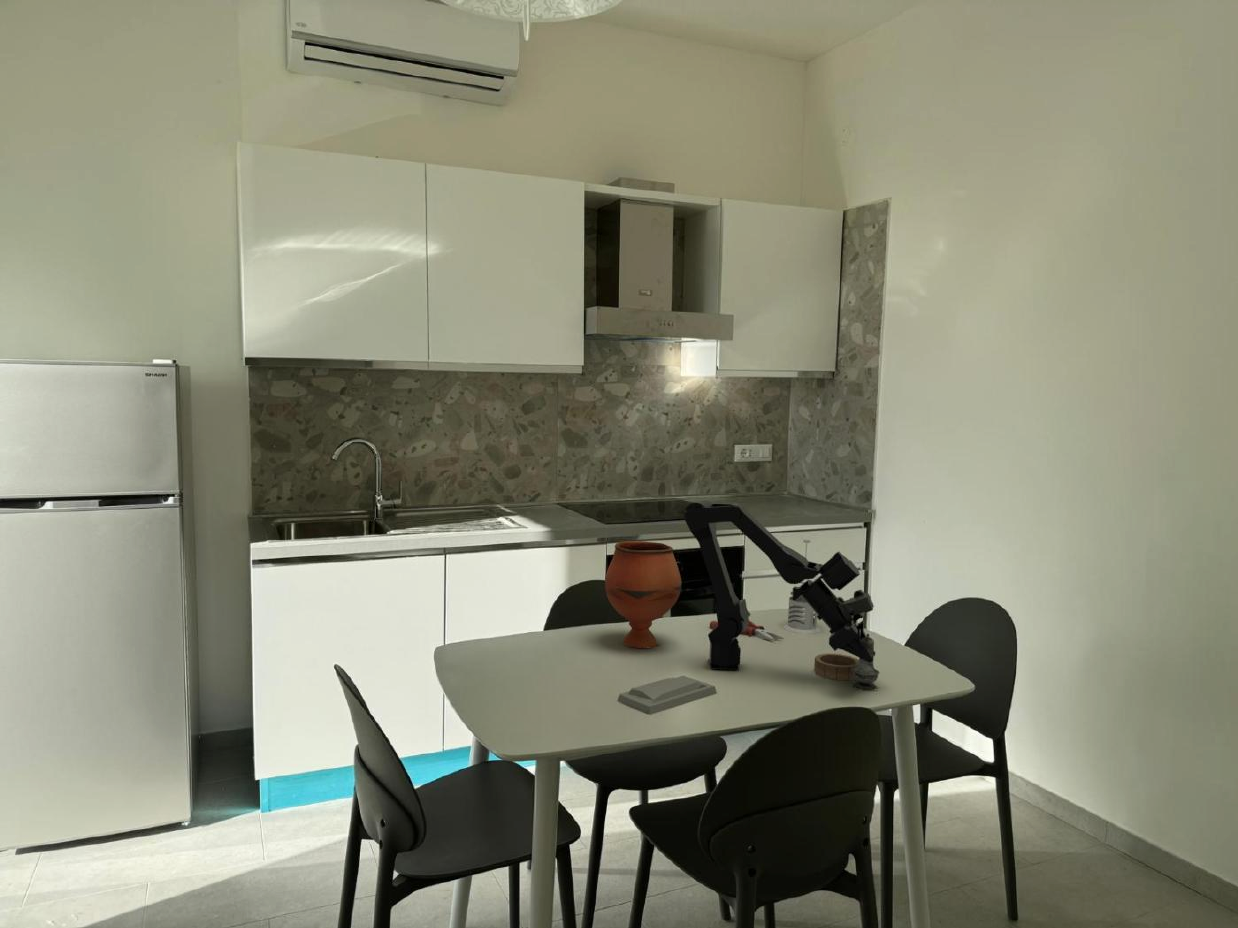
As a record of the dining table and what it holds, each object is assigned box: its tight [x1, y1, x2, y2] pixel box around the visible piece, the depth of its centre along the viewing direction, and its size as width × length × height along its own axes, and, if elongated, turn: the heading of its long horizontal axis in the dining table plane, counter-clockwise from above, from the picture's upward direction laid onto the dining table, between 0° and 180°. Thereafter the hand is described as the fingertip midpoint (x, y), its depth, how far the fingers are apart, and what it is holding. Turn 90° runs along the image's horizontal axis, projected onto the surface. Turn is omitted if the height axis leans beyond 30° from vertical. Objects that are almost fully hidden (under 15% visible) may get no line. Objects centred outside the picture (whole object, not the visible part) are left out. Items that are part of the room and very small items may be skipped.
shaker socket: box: [813, 653, 859, 681], centre depth 207 cm, size 10×10×3 cm
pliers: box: [709, 619, 784, 642], centre depth 238 cm, size 12×20×3 cm, turn 41°
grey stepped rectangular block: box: [617, 675, 717, 715], centre depth 187 cm, size 10×20×4 cm, turn 133°
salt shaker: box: [851, 633, 881, 692], centre depth 197 cm, size 6×6×12 cm
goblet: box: [604, 540, 682, 649], centre depth 224 cm, size 19×19×25 cm
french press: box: [783, 537, 821, 635], centre depth 243 cm, size 10×12×25 cm
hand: (873, 658), depth 197 cm, fingers open, 5 cm apart
